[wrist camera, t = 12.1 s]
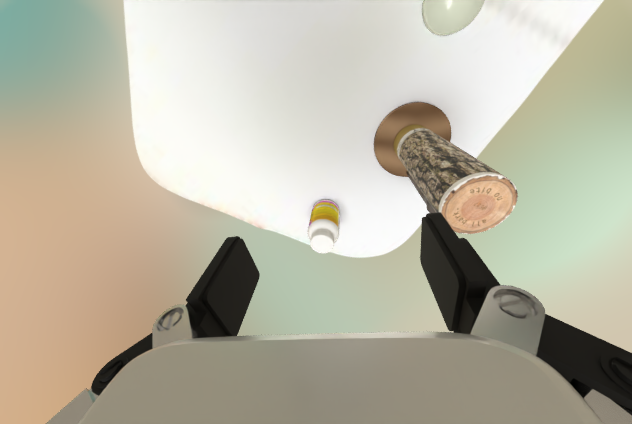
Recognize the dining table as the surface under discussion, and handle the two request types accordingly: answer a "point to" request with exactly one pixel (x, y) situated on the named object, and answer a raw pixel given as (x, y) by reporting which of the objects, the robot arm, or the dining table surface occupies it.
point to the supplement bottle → (324, 226)
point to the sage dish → (449, 15)
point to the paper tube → (455, 181)
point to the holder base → (401, 119)
